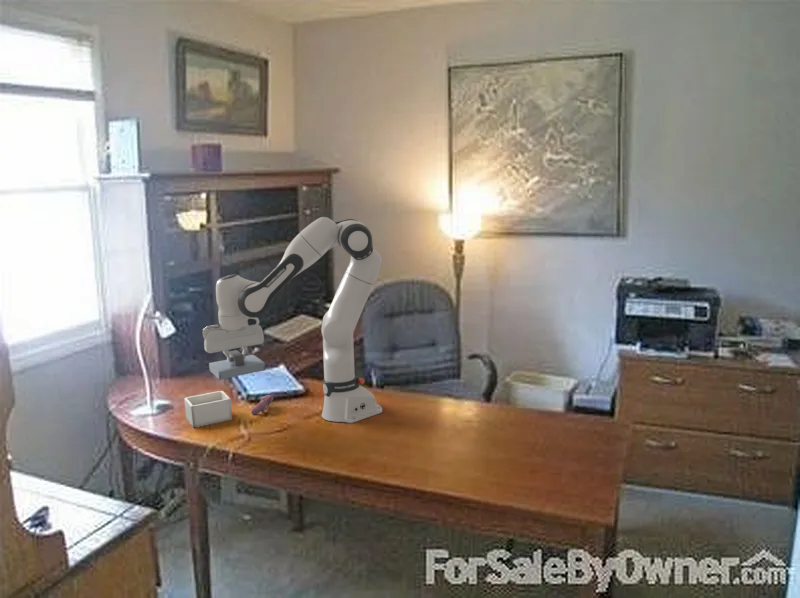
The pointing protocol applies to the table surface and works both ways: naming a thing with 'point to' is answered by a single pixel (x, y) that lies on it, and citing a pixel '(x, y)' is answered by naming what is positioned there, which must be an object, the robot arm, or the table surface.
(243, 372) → the lid
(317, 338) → the table surface
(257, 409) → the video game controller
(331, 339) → the robot arm
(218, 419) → the storage box
